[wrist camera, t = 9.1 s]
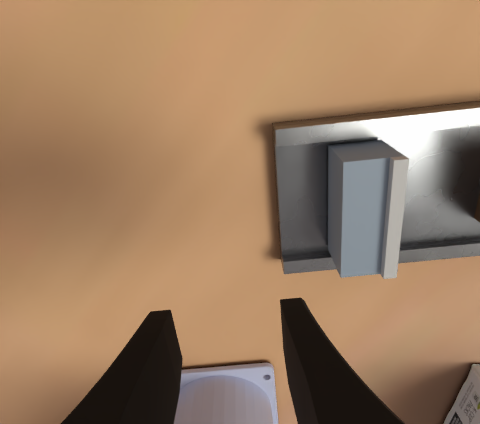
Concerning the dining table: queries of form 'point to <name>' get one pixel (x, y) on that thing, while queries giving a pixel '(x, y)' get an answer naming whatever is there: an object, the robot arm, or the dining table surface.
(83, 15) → the dining table surface
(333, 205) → the block
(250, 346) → the dining table surface
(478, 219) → the block
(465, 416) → the tea box
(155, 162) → the dining table surface
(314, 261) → the vise
